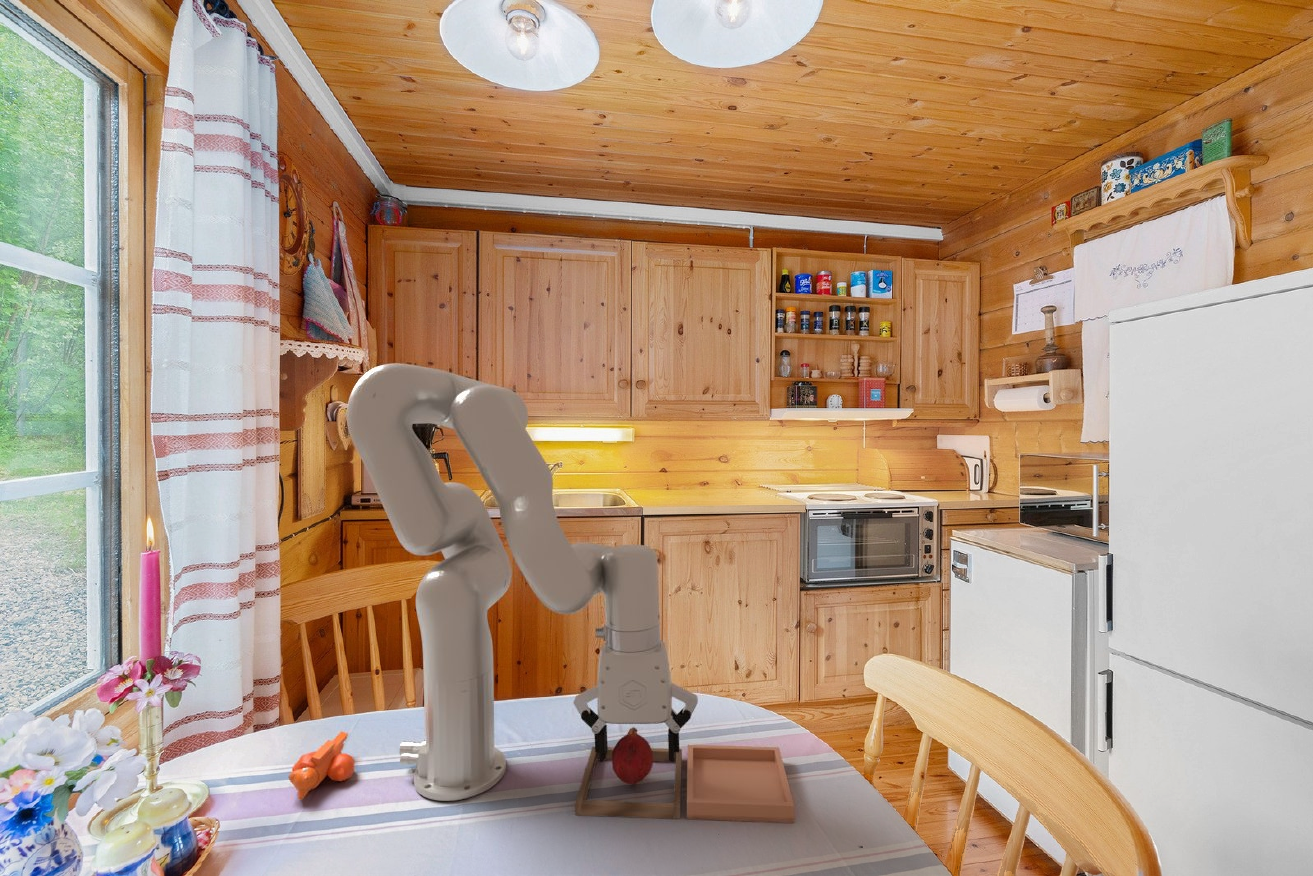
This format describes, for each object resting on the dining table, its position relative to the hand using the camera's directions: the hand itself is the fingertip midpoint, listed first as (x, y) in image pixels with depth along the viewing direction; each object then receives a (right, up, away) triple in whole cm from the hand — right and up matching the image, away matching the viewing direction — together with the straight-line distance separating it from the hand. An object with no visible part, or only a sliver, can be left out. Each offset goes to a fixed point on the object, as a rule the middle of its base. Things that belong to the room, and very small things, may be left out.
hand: (637, 756), depth 85 cm
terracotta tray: (+14, -4, -1) cm, 14 cm away
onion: (-1, -4, 0) cm, 4 cm away
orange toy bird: (-44, -5, +2) cm, 45 cm away
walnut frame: (-1, -4, 0) cm, 4 cm away
